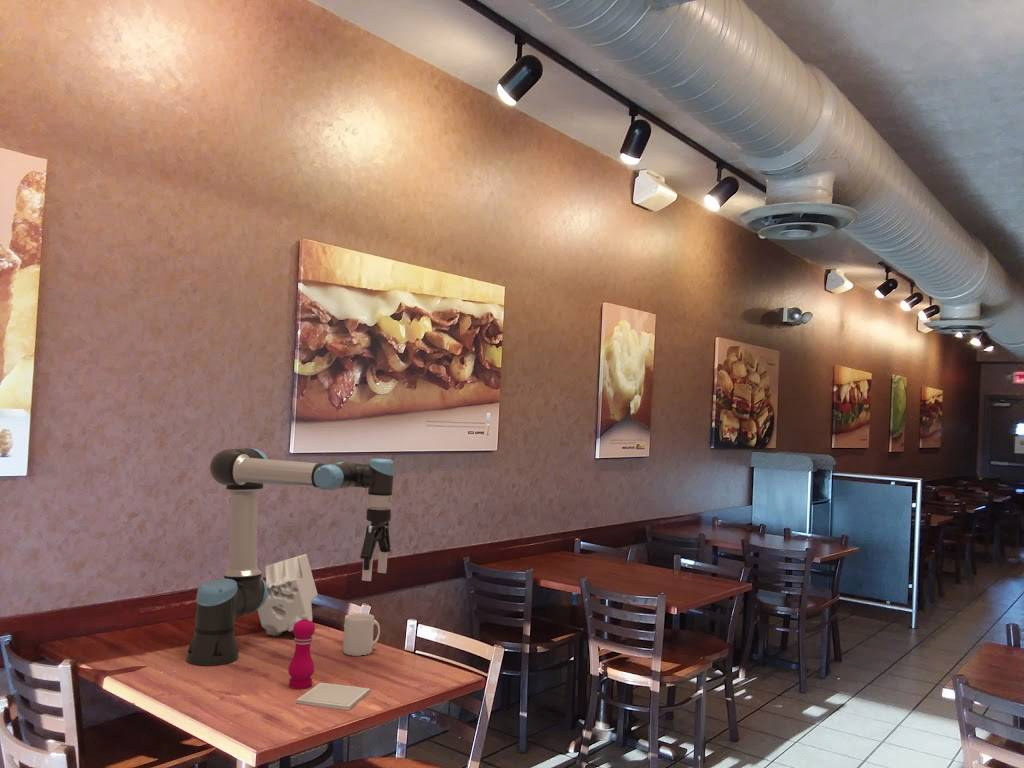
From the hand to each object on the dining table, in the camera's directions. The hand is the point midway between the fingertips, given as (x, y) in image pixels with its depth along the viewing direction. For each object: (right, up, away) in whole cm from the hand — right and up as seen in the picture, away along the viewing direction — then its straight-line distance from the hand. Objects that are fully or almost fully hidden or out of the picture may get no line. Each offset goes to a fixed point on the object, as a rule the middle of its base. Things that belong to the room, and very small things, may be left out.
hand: (374, 576), depth 250 cm
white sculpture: (-38, -28, +32) cm, 57 cm away
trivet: (-6, -26, -30) cm, 40 cm away
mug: (-7, -28, +14) cm, 32 cm away
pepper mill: (-17, -26, -22) cm, 38 cm away
